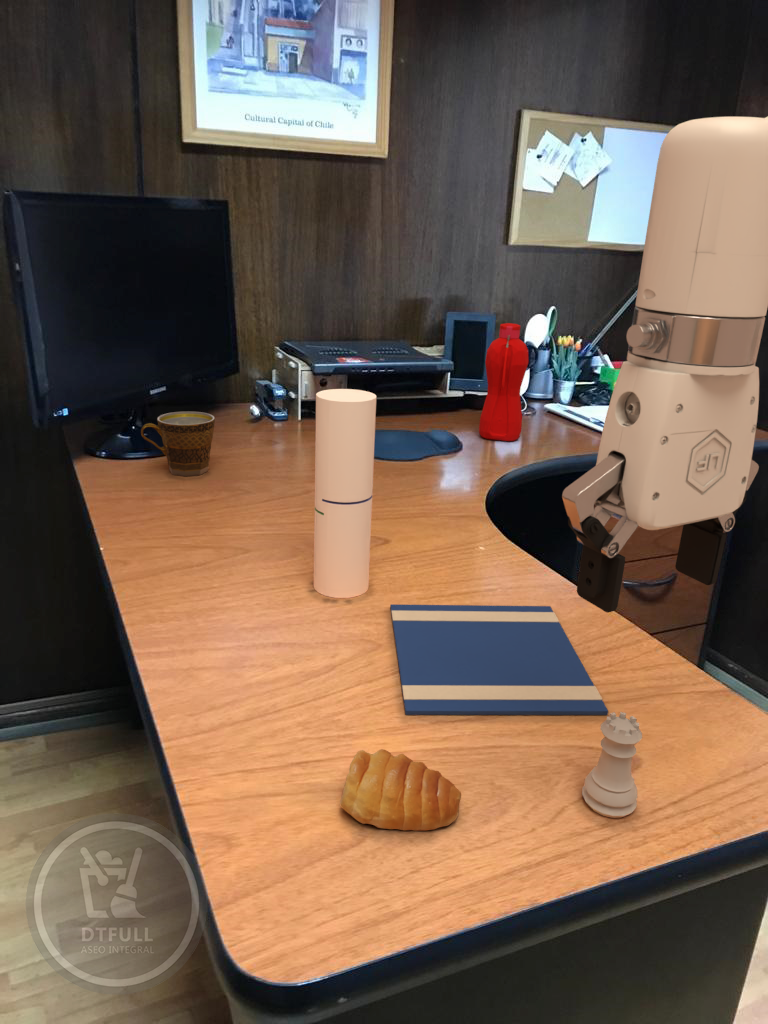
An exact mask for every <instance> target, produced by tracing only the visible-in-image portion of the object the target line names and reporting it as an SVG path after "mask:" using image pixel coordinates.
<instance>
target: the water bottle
mask: <svg viewBox="0 0 768 1024" xmlns="http://www.w3.org/2000/svg"><path fill="white" fill-rule="evenodd" d="M498 333H499V334H498V338H496V339H494V340H492V341H491V343H490V345H489V347H488V348H487V349H486V355H485V361H484V362H485V371H486V380H487V393H486V397H485V399H484V404H483V407H482V409H481V413H480V418H479V425H478V433H479V435H480V437H481V438H483V439H486V440H492V441H503V442H515V441H516V440H518V439H519V438H520V436H521V434H522V426H523V411H522V401H521V387H522V384H523V381H524V378H525V374H526V372H527V369H528V365H529V349H528V347H527V344H526V343H525V342H524V341H523V340H522V339H520V336H521V335H520V334H521V325H520V324H518V323H512V322H506V323H505V322H504V323H500V325H499V332H498Z"/></svg>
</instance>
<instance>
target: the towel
mask: <svg viewBox="0 0 768 1024" xmlns="http://www.w3.org/2000/svg"><path fill="white" fill-rule="evenodd" d="M389 609H390V615H391V623H392V629H393V630H392V631H393V636H394V644H395V651H396V657H397V664H398V665H397V666H398V672H399V679H400V686H401V694H402V700H403V707H404V714H405V715H406V716H608V715H609V710H608V708H607V706H606V704H605V702H604V701H603V700H604V699H603V696H602V695H601V693H600V691H599V690H598V688H597V686H596V685H595V684H594V682H593V681H592V679H591V677H590V675H589V673H588V672H587V670H586V668H585V666H584V665H583V663H582V661H581V659H580V657H579V655H578V653H577V652H576V650H575V648H574V647H573V644H572V643H571V641H570V639H569V637H568V636H567V633H566V632H565V630H564V628H563V626H562V625H561V622H560V620H559V618H558V616H557V615H556V612H554V610H553V608H552V607H551V605H485V604H484V605H483V604H481V605H479V604H477V605H476V604H475V605H474V604H473V605H472V604H471V605H469V604H392V603H391V604H390V608H389ZM405 715H404V716H405Z"/></svg>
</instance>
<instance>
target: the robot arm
mask: <svg viewBox="0 0 768 1024" xmlns="http://www.w3.org/2000/svg"><path fill="white" fill-rule="evenodd" d="M653 182H654V183H653V189H652V195H651V202H650V208H649V214H648V219H647V220H648V221H647V227H646V234H645V239H644V246H643V253H642V258H641V259H642V260H641V266H640V274H639V278H638V284H637V291H636V299H635V307H634V311H633V316H632V322H631V323H632V324H631V326H630V327H629V328H628V329H627V331H626V337H625V338H626V342H627V344H628V348H627V350H628V351H627V355H626V360H625V361H623V362H622V363H621V366H620V370H619V372H618V375H617V378H616V380H615V385H614V387H613V389H612V393H611V396H610V401H609V405H608V408H607V411H606V416H605V419H604V424H603V428H602V431H601V437H600V441H599V447H598V451H597V457H596V463H595V466H593V467H592V468H590V469H589V470H588V471H587V472H585V473H583V474H582V475H581V476H579V477H578V478H577V479H575V480H574V481H573V482H572V483H570V484H569V485H568V486H566V487H565V488H564V489H563V490H562V494H561V498H562V501H563V506H564V509H565V512H566V515H567V517H568V519H567V525H568V527H569V528H570V529H571V530H572V531H573V533H574V534H575V536H576V541H577V542H578V543H580V544H582V545H583V546H582V553H581V559H580V564H579V565H580V566H579V572H578V577H577V586H576V594H577V595H578V597H580V598H581V599H583V600H585V601H587V602H588V603H590V604H591V605H593V606H595V607H596V608H598V609H600V610H601V611H602V612H605V613H612V612H615V611H616V610H617V609H618V606H619V602H620V601H619V600H620V595H621V588H622V583H623V577H624V572H625V566H626V556H624V555H622V554H620V552H621V551H622V549H623V548H624V546H625V545H626V544H627V542H628V541H629V539H630V538H631V537H632V535H633V534H634V532H635V531H636V530H637V528H638V527H640V528H642V529H644V530H647V531H658V530H665V529H668V528H674V527H680V526H682V529H681V534H680V541H679V545H678V550H677V555H676V561H675V566H674V568H675V570H676V571H677V572H679V573H681V574H683V575H685V576H687V577H689V578H691V579H694V580H695V581H698V582H699V583H700V584H703V585H706V586H711V585H714V584H716V583H717V581H718V576H719V572H720V567H721V563H722V557H723V554H724V548H725V544H726V539H727V535H728V532H730V531H732V529H733V528H734V527H735V524H736V518H735V515H736V513H737V512H738V511H739V509H740V508H741V507H742V506H743V505H744V503H745V502H746V501H747V497H748V496H747V495H748V494H747V491H749V489H750V487H751V485H752V483H753V482H754V480H755V477H756V476H757V474H758V472H759V468H760V466H759V464H758V463H757V462H756V461H755V460H754V459H753V453H754V446H755V439H756V433H757V432H756V431H757V423H758V415H759V401H760V368H759V367H758V366H756V363H757V359H758V354H759V349H760V345H761V339H762V336H763V330H764V326H765V321H766V317H765V316H767V311H768V115H767V116H766V117H757V116H713V117H711V116H710V117H702V118H695V119H689V120H687V121H684V122H681V123H678V124H677V125H675V126H674V127H673V128H671V129H670V130H669V131H668V133H667V134H666V135H665V137H664V138H663V141H662V143H661V146H660V149H659V153H658V158H657V163H656V171H655V176H654V181H653ZM611 518H613V519H616V520H618V521H617V523H616V524H615V525H614V526H613V528H612V530H611V531H610V532H609V531H608V530H607V529H606V528H605V526H606V525H607V523H608V522H609V521H610V519H611Z"/></svg>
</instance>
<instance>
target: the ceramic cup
mask: <svg viewBox="0 0 768 1024" xmlns="http://www.w3.org/2000/svg"><path fill="white" fill-rule="evenodd" d="M156 421H157V424H154V423H152V422H151V423H150V422H149V423H145V424H144V425H143V426H142V427H141V429H140V435H141V437H142V438H143V439H144V440H145V441H147V442H148V443H149V444H152V445H153V446H155V447H156V448H157V449H158V450H159V451H161V452H162V454H163V455H164V456H165V457H166V460H167V465H168V468H169V472H170V473H171V475H173V476H179V477H184V478H187V477H196V476H201V475H203V474H205V473H207V472H208V470H209V464H210V458H211V451H212V441H213V437H214V431H215V424H216V423H215V421H216V418H215V416H214V415H212V414H210V413H207V412H203V411H202V412H201V411H189V410H188V411H174V412H168V413H164V414H163V413H162V414H160V415H159V416H157V418H156ZM147 428H152V429H154V430H155V431H156V432H157V433H158V434H159V436H160V437H161V440H162V444H163V446H160V445H158V444H157V443H156V442H154V441H153V440H151V439H150V438H148V437H146V436H145V434H144V430H145V429H147Z"/></svg>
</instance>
